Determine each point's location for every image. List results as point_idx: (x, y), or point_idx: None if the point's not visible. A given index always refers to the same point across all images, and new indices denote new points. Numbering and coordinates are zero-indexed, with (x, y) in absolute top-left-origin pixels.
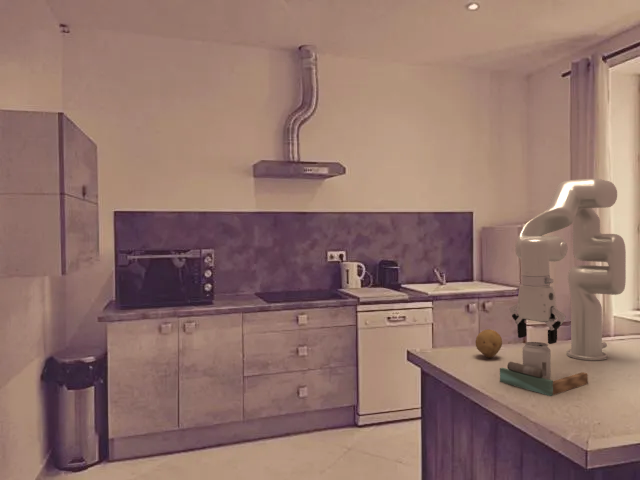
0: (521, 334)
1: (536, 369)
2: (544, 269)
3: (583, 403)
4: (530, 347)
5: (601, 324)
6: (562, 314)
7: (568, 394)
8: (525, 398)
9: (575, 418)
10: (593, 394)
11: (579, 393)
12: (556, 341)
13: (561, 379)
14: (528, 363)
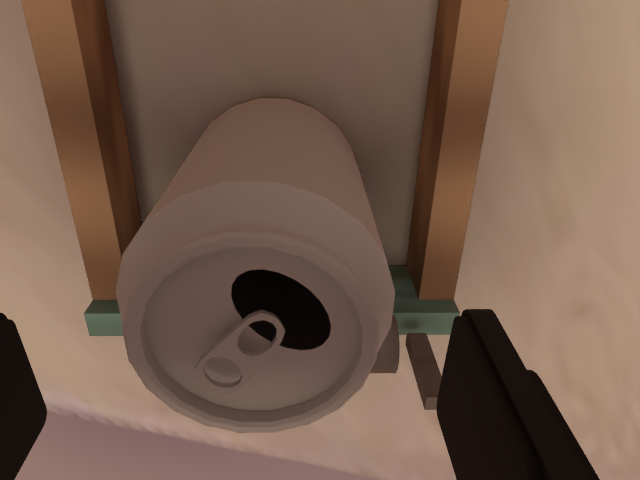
0: (20, 430)
1: (372, 371)
2: None
3: (597, 260)
4: (265, 416)
5: None
6: None
7: (491, 194)
8: (371, 383)
9: (615, 416)
10: (605, 81)
11: (532, 130)
12: (491, 313)
13: (449, 181)
14: (270, 335)
